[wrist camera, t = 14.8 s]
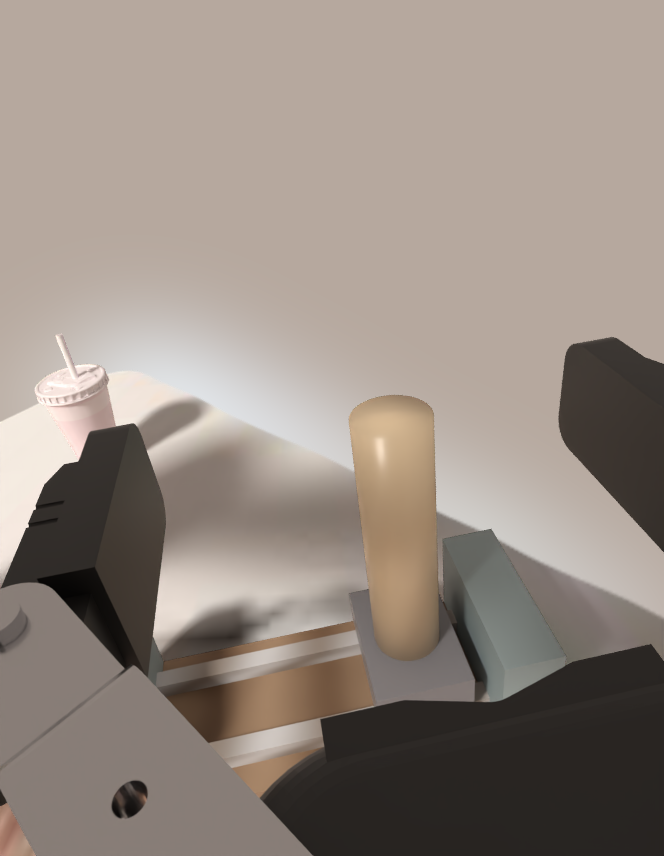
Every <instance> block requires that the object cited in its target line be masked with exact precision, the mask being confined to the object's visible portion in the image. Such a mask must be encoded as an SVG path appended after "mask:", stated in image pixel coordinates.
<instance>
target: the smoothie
mask: <svg viewBox="0 0 664 856" xmlns="http://www.w3.org/2000/svg"><path fill="white" fill-rule="evenodd" d="M56 338H57V341H58V344H59V346H60V349H61V351H62V353H63V356H64V358H65V361H66V363H67V366H68V367H67V368H64V369H61V370H59V371H56V372H54V373H52V374H50V375H48V376H47V377H45V378H43V379H42V380H41V381H40V382H39V383H38V384H37V385H36V387H35V393H36V395H37V400H38V401H39V402H40V403H41V404H43V405H45V406H46V408H47V409H48V411H49V413H50V414H51V416H52V418H53V419H54V421H55V422H56V424H57V425H58V427H59V429H60V430H61V432H62V434H63V435H64V437H65V438H66V440H67V442H68V443H69V445H70V447H71V448H72V450H73V451H74V453H75V455H76V456H77V458H78V459H80V456H81V453H82V450H83V447H84V445H85V442H86V439H87V436H88V434H89V432H90V431H94V430H100V429H105V428H111V427H116V425H115V420H114V415H113V411H112V406H111V402H110V397H109V392H108V388H107V384H108V381H109V378H108V376H107V374H106V371H105V369H104V368H103V367H101V366H99V365H94V364H84V365H76V366H74V363H73V361H72V358H71V356H70V353H69V351H68V348H67V346H66V343H65V341H64V338H63V335H62V334H57V335H56Z"/></svg>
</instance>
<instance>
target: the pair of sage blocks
mask: <svg viewBox="0 0 664 856" xmlns="http://www.w3.org/2000/svg"><path fill="white" fill-rule="evenodd" d="M443 581H444V603H445V606H446V608H447V610H451V609H452V612H453V614H454V616H455V619H456V621H457V634H458V636H459V639H460V641H461V644H462V646H463V648H464V651H465V653H466V655H467V658H468V660H469V663H470V665H471V667H472V670H473V672H474V674H475V677H476V679H477V682H482V681H483V684H484V686H485V688H486V691H487V693H488V695H489V698H490V700H489V702H496V701H500V700H503V699H505V698H507V697H509V696H511V695H513V694H515V693H517V692H518V691H520V690H522V689H524V688H526V687H528V686H529V685H531V684H533V683H535V682H537V681H539V680H540V679H542V678H544V677H546V676H548V675H550V674H551V673H553V672H555V671H557V670H559V669H561V668H562V667H564V666H565V662H566V655H565V653H564V651H563V650H562V648H561V646H560V645H559V643H558V641H557V640H556V638H555V636H554V634H553V633H552V631H551V629H550V628H549V626H548V624H547V623H546V621H545V619H544V618H543V616H542V614H541V612H540V611H539V609H538V607H537V606H536V604H535V602H534V601H533V599H532V597H531V595H530V594H529V592H528V590H527V589H526V587H525V585H524V584H523V582H522V580H521V579H520V577H519V575H518V573H517V572H516V570H515V568H514V567H513V565H512V563H511V562H510V560H509V558H508V557H507V555H506V553H505V551H504V550H503V548H502V546H501V545H500V543H499V541H498V540H497V538H496V536H495V535H494V533H493V531H492V530H491V529H489V530H484V531H479V532H474V533H469V534H464V535H459V536H454V537H450V538H445V539H443ZM163 664H164V661H163V659H162V657H161V654H160V652H159V650H158V647H157V645H156V643H155V640H154V638H153V637H152V646H151V654H150V663H149V672H148V679H149V680H150V681H151V682H152V683H153V684H154V685H155V686H156V678H157V673H158V672H163Z"/></svg>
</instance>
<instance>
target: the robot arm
mask: <svg viewBox="0 0 664 856" xmlns="http://www.w3.org/2000/svg"><path fill="white" fill-rule="evenodd" d="M559 428H560V432H561V436H562V438H563V441H564V443H565V444H566V446H567V447H568V449H569V450H570V451H571V452H572V453H573V454H574V455H575V456H576V457H577V458H578V459H579V461H581V463H582V464H583V465H584V466H585V467H586V468H587V469H588V470H589V471H590V473H591V474H592V475H593V476H594V477H595V478H596V479H597V480H598V481H599V482H600V483H601V485H603V487H604V488H605V489H606V490H607V491H608V492H609V493H610V494H611V495H612V496H613V498H614V499H615V500H616V501H617V502H618V503H619V504H620V505H621V506H622V507H623V508H624V509H625V510H626V512H627V513H628V514H629V515H630V516H631V517H632V518H633V519H634V520H635V521H636V523H638V525H639V526H640V527H641V528H642V529H643V530H644V531H645V532H646V533H647V534H648V536H649V537H650V538H651V539H652V540H653V541H654V542H655V543H656V544H657V545H658V546H659V547H660V549H661V550H662V551H663V552H664V364H662V363H659V362H657V361H654V360H651V359H648V358H645V357H643V356H642V355H641V354H639V353H638V352H636V351H635V350H633V349H632V348H630V347H629V346H627V345H626V344H624V343H623V342H622V341H620V340H618V339H617V338H614V337H610V338H605V339H599V340H594V341H588V342H583V343H577V344H573V345H571V346H570V347H569V349H568V350H567V352H566V356H565V363H564V371H563V380H562V390H561V399H560V409H559ZM28 524H29V528H26V530H25V532H24V535H23V537H22V539H21V542H20V544H19V546H18V549H17V551H16V554H15V556H14V558H13V561H12V563H11V566H10V568H9V570H8V573H7V575H6V577H5V580H4V582H3V585H2V587H1V589H0V806H2V805H4V804H5V803H8V805H9V807H10V808H11V810H12V812H13V814H14V816H15V818H16V820H17V821H18V823H19V825H20V827H21V829H22V831H23V833H24V834H25V836H26V838H27V840H28V842H29V844H30V846H31V847H32V849H33V851H34V853H35V855H36V856H664V661H663V659H662V658H661V657H660V655H659V654H658V653H657V651H656V650H655V649H654V647H653V646H652V645H651V644H650V645H645V646H641V647H636V648H632V649H628V650H623V651H619V652H614V653H610V654H606V655H601V656H597V657H592V658H588V659H583V660H579V661H575V662H572V663H570V664H568V665H566V666H564V667H562V668H561V669H559V670H557V671H555V672H553V673H551V674H550V675H548V676H546V677H544V678H542V679H540V680H539V681H537V682H535V683H533V684H531V685H529V686H528V687H526V688H524V689H522V690H520V691H518V692H517V693H515V694H513V695H511V696H509V697H507V698H505V699H503V700H500V701H496V702H466V701H423V700H402V701H398V702H393V703H389V704H385V705H380V706H376V707H371V708H367V709H363V710H358V711H354V712H349V713H345V714H340V715H336V716H332V717H327V718H323V719H320V722H321V729H322V735H323V741H324V747H322V748H321V749H319V750H317V751H315V752H313V753H312V754H310V755H308V756H306V757H305V758H304V759H302V760H301V761H299V762H298V763H297V764H295V765H294V766H292V767H291V768H289V769H288V770H287V771H286V772H285V773H284V774H283V775H282V776H280V777H279V778H278V779H277V780H276V781H275V782H274V783H273V784H272V785H271V786H270V787H269V788H268V789H267V790H266V791H265V792H264V794H263V795H262V796H261V797H260V798H259V797H258V796H257V795H256V794H255V793H254V792H253V791H252V790H251V789H250V787H249V786H248V785H247V784H246V783H245V782H244V781H243V780H242V779H241V778H240V777H239V776H238V775H237V773H236V772H235V771H234V770H233V769H232V768H231V767H230V766H229V765H228V764H227V763H226V762H225V761H224V759H223V758H222V757H221V756H220V755H219V754H218V753H217V752H216V751H215V750H214V749H213V748H212V747H211V745H210V744H209V743H208V742H207V741H206V740H205V739H204V738H203V737H202V736H201V735H200V734H199V733H198V731H197V730H196V729H195V728H194V727H193V726H192V725H191V724H190V723H189V722H188V721H187V720H186V719H185V717H184V716H183V715H182V714H181V713H180V712H179V711H178V710H177V709H176V708H175V707H174V706H173V705H172V703H171V702H170V701H169V700H168V699H167V698H166V697H165V696H164V695H163V694H162V693H161V692H160V691H159V690H158V688H157V687H156V686H155V685H154V684H153V683H152V682H151V681H150V680H149V679H148V672H149V663H150V654H151V646H152V637H153V629H154V620H155V612H156V603H157V594H158V586H159V577H160V569H161V560H162V552H163V543H164V534H165V525H166V518H165V508H164V502H163V498H162V494H161V491H160V488H159V485H158V482H157V479H156V476H155V473H154V471H153V468H152V465H151V462H150V459H149V456H148V453H147V451H146V448H145V445H144V442H143V439H142V436H141V434H140V431H139V429H138V428H137V426H136V425H135V424H127V425H122V426H116V427H111V428H105V429H100V430H94V431H90V432H89V434H88V436H87V439H86V442H85V445H84V447H83V450H82V453H81V456H80V459H79V461H78V462H74V463H68V464H64V465H63V466H62V467H61V468H60V469H59V470H58V471H57V472H56V473H55V474H54V475H53V476H52V477H51V478H50V479H49V480H48V481H47V483H46V484H45V485H44V487H43V489H42V492H41V494H40V496H39V499H38V501H37V504H36V510H34V511H33V513H32V515H31V518H30V520H29V523H28Z"/></svg>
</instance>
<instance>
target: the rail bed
mask: <svg viewBox="0 0 664 856" xmlns="http://www.w3.org/2000/svg"><path fill="white" fill-rule="evenodd" d="M443 604H444V607H445V609H446V612H447V614H448V616H449V619H450V621H451V624H452V626H453V628H454V631H455V633H456V636H457V638H458V640H459V643H460V645H461V648H462V650H463V652H464V655H465V657H466V659H467V662H468V664H469V667H470V669H471V671H472V674H473V676H474V679H475V695H474V702H489V700H490V698H489V695H488V693H487V691H486V688H485V686H484V684H483V681H482V682H477V679H476V677H475V674H474V672H473V670H472V667H471V665H470V663H469V660H468V658H467V655H466V653H465V651H464V648H463V646H462V644H461V641H460V639H459V636H458V634H457V621H456V619H455V616H454V614H453V612H452V609H451V610H447V608H446V606H445V603H444V602H443ZM156 687H157V688H158V690H159V691H160V692H161V693H162V694H163V695H164V696H165V697H166V698H167V699H168V700H169V701H170V702H171V703H172V705H173V706H174V707H175V708H176V709H177V710H178V711H179V712H180V713H181V714H182V715H183V716H184V717H185V719H186V720H187V721H188V722H189V723H190V724H191V725H192V726H193V727H194V728H195V729H196V730H197V731H198V733H199V734H200V735H201V736H202V737H203V738H204V739H205V740H206V741H207V742H208V743H209V744H210V745H211V747H212V748H213V749H214V750H215V751H216V752H217V753H218V754H219V755H220V756H221V757H222V758H223V759H224V761H225V762H226V763H227V764H228V765H229V766H230V767H231V768H232V769H233V770H234V771H235V772H236V773H237V775H238V776H239V777H240V778H241V779H242V780H243V781H244V782H245V783H246V784H247V785H248V786H249V787H250V789H251V790H252V791H253V792H254V793H255V794H256V795H257V796H258V797H259V798H260V797H261V796H262V795H263V794H264V792H265V791H266V790H267V789H268V788H269V787H270V786H271V785H272V784H273V783H274V782H275V781H276V780H277V779H278V778H279V777H280V776H282V775H283V774H284V773H285V772H286V771H287V770H288V769H289V768H291V767H292V766H294V765H295V764H297V763H298V762H299V761H301V760H302V759H304V758H305V757H306V756H308V755H310V754H312V753H313V752H315V751H317V750H319V749H321V748H322V747H324V741H323V735H322V729H321V722H320V719H323V718H327V717H332V716H336V715H340V714H345V713H349V712H354V711H358V710H363V709H367V708H371V707H374V704H373V700H372V696H371V692H370V687H369V683H368V679H367V675H366V671H365V667H364V663H363V659H362V654H361V650H360V646H359V642H358V638H357V634H356V630H355V626H354V621H351V622H347V623H342V624H337V625H332V626H328V627H323V628H318V629H314V630H309V631H304V632H300V633H295V634H290V635H286V636H281V637H276V638H272V639H267V640H262V641H258V642H253V643H248V644H244V645H239V646H234V647H229V648H225V649H220V650H215V651H211V652H206V653H201V654H197V655H192V656H187V657H183V658H178V659H173V660H169V661H164V664H163V672H158V673H157V678H156Z"/></svg>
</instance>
